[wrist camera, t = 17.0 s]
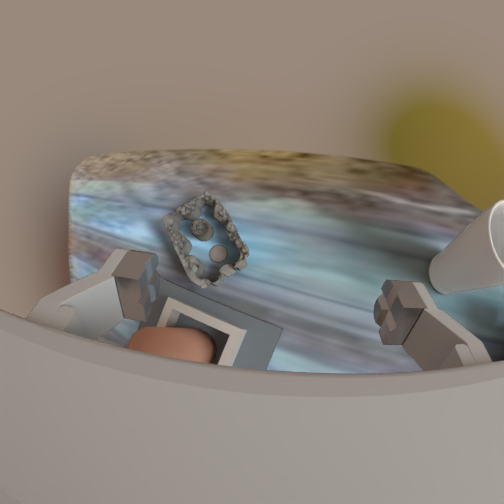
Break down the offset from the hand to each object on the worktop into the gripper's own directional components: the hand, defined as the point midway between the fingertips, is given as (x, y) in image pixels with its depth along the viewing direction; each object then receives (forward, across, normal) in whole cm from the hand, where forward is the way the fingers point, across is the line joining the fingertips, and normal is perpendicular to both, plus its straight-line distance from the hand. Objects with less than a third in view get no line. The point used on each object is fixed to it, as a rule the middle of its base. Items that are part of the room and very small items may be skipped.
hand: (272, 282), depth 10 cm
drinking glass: (+18, -23, +10) cm, 31 cm away
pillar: (+13, +6, +21) cm, 25 cm away
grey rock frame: (+23, +6, +13) cm, 27 cm away
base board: (+14, +5, +22) cm, 26 cm away
